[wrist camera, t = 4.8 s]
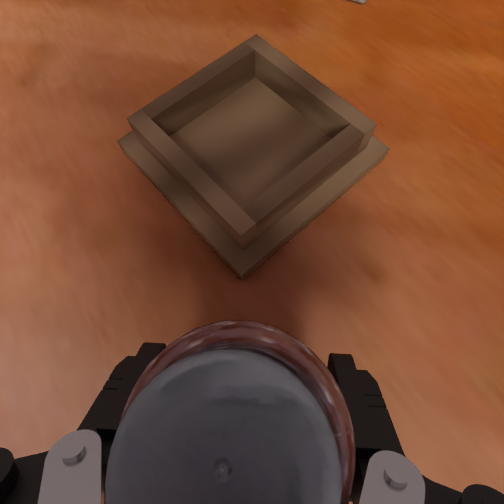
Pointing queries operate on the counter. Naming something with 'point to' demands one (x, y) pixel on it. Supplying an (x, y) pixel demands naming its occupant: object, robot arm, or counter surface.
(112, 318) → the counter surface
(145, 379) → the supplement bottle
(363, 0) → the decorative jar
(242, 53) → the walnut tray
